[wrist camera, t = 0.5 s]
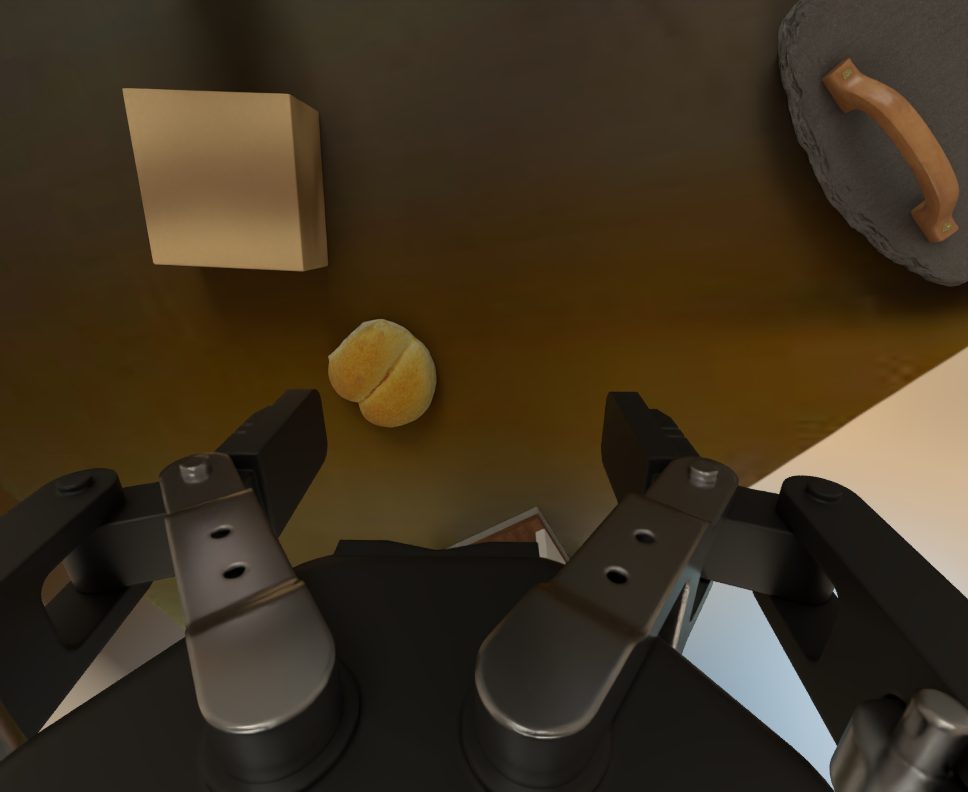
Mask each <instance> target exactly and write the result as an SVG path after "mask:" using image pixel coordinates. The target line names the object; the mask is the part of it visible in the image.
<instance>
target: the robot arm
mask: <svg viewBox="0 0 968 792" xmlns="http://www.w3.org/2000/svg"><path fill="white" fill-rule="evenodd" d="M326 454H327V436H326V429H325V423H324V416H323V409H322V403H321V397H320V394H319V392H318V391H317V390H316V389H288V390H287V391H286V392H285V393H284V394H283V395H282V396H281V397H280V398H279V399H278V400H277V401H276V402H275V403H274V404H273V405H272V406H268V407H266V408H264V409H262V410H260V411H258V412H256V413H254V414H253V415H252V416H251V417H249V418H248V419H247V420H246V421H245V422H244V423H243V426H240V427H239V428H238V429H237V430H236V431H235V434H232V435H231V436H230V437H229V438H228V439H227V440H226V441H225V442H224V443H223V444H222V445H221V446H220V447H219V448H218V449H216V450H215V451H214V452H208V453H200V454H195V455H191V456H188V457H185V458H182V459H180V460H177V461H175V462H173V463H172V464H170V465H168V466H167V467H166V468H165V469H164V470H162V472H161V473H160V475H159V482H155V483H149V484H143V485H137V486H131V487H125V488H122V486H121V483H120V480H119V477H118V475H117V473H116V472H115V471H114V470H111V469H105V468H97V469H88V470H83V471H78V472H74V473H71V474H68V475H65V476H63V477H60V478H58V479H55V480H53V481H51V482H49V483H48V484H46V485H44V486H43V487H41V488H40V489H39V490H37V491H36V492H34V493H33V494H32V495H30V496H29V497H28V498H26V499H25V500H24V501H22V502H21V503H20V504H18V505H17V506H15V507H14V508H13V509H11V510H10V511H8V512H7V513H6V514H4V515H3V516H2V517H0V792H834V790H835V792H968V599H967V598H966V597H965V596H964V595H963V594H962V593H961V592H960V591H959V590H958V589H957V588H956V587H954V586H953V585H952V584H951V583H950V582H949V581H948V580H947V579H946V578H945V577H944V576H943V575H942V574H941V573H940V572H939V571H938V570H936V569H935V568H934V567H933V566H932V565H931V564H930V563H929V562H928V561H927V560H926V559H925V558H924V557H923V556H922V555H921V554H920V553H918V552H917V551H916V550H915V549H914V548H913V547H912V546H911V545H910V544H909V543H908V542H907V541H906V540H905V539H904V538H902V536H900V535H899V534H898V533H897V532H896V531H895V530H894V529H893V528H892V527H891V526H890V525H889V524H888V523H886V521H885V520H883V519H882V518H881V517H880V516H879V515H878V514H877V513H876V512H875V511H874V510H873V509H872V508H871V507H870V506H869V505H867V504H866V503H865V502H864V501H863V500H862V499H861V498H860V497H859V496H858V495H857V494H855V493H854V492H853V491H851V490H850V489H848V488H846V487H844V486H842V485H840V484H838V483H835V482H832V481H830V480H826V479H823V478H819V477H813V476H792V477H789V478H787V479H785V480H784V481H783V484H782V487H781V490H780V494H776V493H770V492H765V491H759V490H754V489H750V488H745V487H742V486H738V482H739V481H738V477H737V475H736V474H735V472H733V471H732V470H731V469H730V468H729V467H727V466H725V465H724V464H722V463H719V462H717V461H714V460H711V459H708V458H703V457H700V456H699V454H698V453H697V452H696V450H695V449H694V448H693V446H692V445H691V444H690V442H689V441H688V440H687V438H684V435H683V433H682V432H681V431H680V430H678V427H677V425H676V424H675V423H674V421H673V420H672V419H671V418H670V417H669V416H667V415H666V414H664V413H662V412H661V411H659V410H657V409H649V408H648V407H647V405H646V404H645V402H644V401H643V399H642V398H641V397H640V395H639V394H638V392H609V393H608V395H607V399H606V407H605V416H604V425H603V434H602V443H601V454H602V462H603V465H604V468H605V470H606V473H607V476H608V478H609V481H610V483H611V486H612V488H613V491H614V494H615V496H616V499H617V501H618V505H617V506H616V507H615V508H614V509H613V510H612V511H611V513H610V514H609V515H608V516H607V517H606V518H605V519H604V521H603V522H602V523H601V524H600V525H599V526H598V527H597V529H596V530H595V531H594V532H593V533H592V534H591V536H590V537H589V538H588V539H587V540H586V541H585V542H584V544H583V545H582V546H581V547H580V548H579V549H578V550H577V552H576V553H575V554H574V555H573V556H572V557H571V558H570V560H569V561H568V562H567V563H566V564H563V563H560V562H557V561H554V560H551V559H548V558H543V557H540V555H539V547H538V542H483V543H478V544H472V545H466V546H460V547H454V548H448V549H442V550H433V549H428V548H423V547H418V546H413V545H408V544H403V543H398V542H393V541H389V540H340V541H339V543H338V545H337V548H336V550H335V552H334V555H329V556H325V557H321V558H317V559H314V560H311V561H308V562H305V563H303V564H301V565H298V566H296V567H294V568H292V566H291V564H290V562H289V560H288V558H287V556H286V554H285V552H284V550H283V548H282V546H281V544H280V542H279V540H278V538H279V536H280V534H281V533H282V531H283V529H284V528H285V526H286V524H287V523H288V521H289V519H290V518H291V516H292V514H293V513H294V511H295V509H296V508H297V506H298V504H299V503H300V501H301V499H302V498H303V496H304V494H305V493H306V491H307V489H308V488H309V486H310V484H311V483H312V481H313V479H314V478H315V476H316V474H317V473H318V471H319V469H320V468H321V466H322V464H323V463H324V461H325V458H326ZM61 561H62V562H63V564H64V566H65V568H66V570H67V573H68V574H69V577H70V579H71V581H70V582H69V583H68V584H67V585H66V586H65V587H64V588H63V589H62V590H61V591H60V592H59V593H58V594H57V595H56V596H55V597H54V598H53V599H52V600H51V601H50V602H49V603H48V604H47V605H46V606H45V607H44V605H43V603H42V600H41V589H42V586H43V583H44V581H45V579H46V577H47V576H48V574H49V573H50V572H51V571H52V570H53V569H54V568H55V567H56V566H57V565H58V564H59V563H60V562H61ZM174 576H176V581H177V586H178V591H179V596H180V601H181V606H182V611H183V616H184V621H185V626H186V631H185V637H184V638H183V639H181V640H180V641H178V642H177V643H175V644H174V645H172V646H170V647H169V648H168V649H166V650H164V651H163V652H161V653H160V654H158V655H157V656H155V657H154V658H152V659H151V660H149V661H148V662H146V663H145V664H143V665H141V666H140V667H138V668H137V669H135V670H134V671H132V672H131V673H129V674H128V675H126V676H125V677H123V678H122V679H120V680H118V681H117V682H116V683H114V684H112V685H111V686H109V687H108V688H106V689H105V690H103V691H102V692H100V693H99V694H97V695H96V696H94V697H93V698H91V699H89V700H88V701H87V702H85V703H83V704H82V705H80V706H79V707H77V708H76V709H74V710H73V711H71V712H70V713H68V714H67V715H65V716H63V717H62V718H61V719H59V720H58V721H56V722H55V723H53V724H51V725H50V726H48V727H47V728H45V729H44V730H42V731H41V732H39V731H40V730H41V728H42V727H43V726H44V724H45V723H46V722H47V721H48V719H49V718H50V717H51V715H52V714H53V713H54V711H55V710H56V709H57V708H58V706H59V705H60V704H61V702H62V701H63V700H64V698H65V697H66V696H67V695H68V693H69V692H70V691H71V689H72V688H73V686H74V685H75V684H76V683H77V681H78V680H79V679H80V678H81V676H82V675H83V674H84V672H85V671H86V670H87V668H88V667H89V666H90V665H91V663H92V662H93V661H94V659H95V658H96V656H97V655H98V654H99V653H100V651H101V650H102V649H103V648H104V646H105V645H106V643H107V642H108V641H109V640H110V638H111V637H112V636H113V635H114V633H115V632H116V630H117V629H118V628H119V627H120V625H121V624H122V623H123V621H124V620H125V619H126V618H127V616H128V615H129V614H130V612H131V611H132V610H133V608H134V607H135V606H136V604H137V603H138V602H139V600H140V599H141V598H142V597H143V595H144V594H145V593H146V591H147V590H148V589H149V587H150V586H151V584H152V582H153V581H155V580H160V579H164V578H169V577H174ZM713 581H715V582H720V583H724V584H728V585H732V586H736V587H740V588H744V589H748V590H752V591H753V594H754V597H755V598H756V600H757V601H758V604H759V606H760V607H761V609H762V611H763V613H764V615H765V616H766V618H767V620H768V622H769V624H770V625H771V627H772V629H773V631H774V633H775V634H776V636H777V638H778V640H779V642H780V644H781V645H782V647H783V649H784V651H785V653H786V654H787V656H788V658H789V660H790V662H791V663H792V665H793V667H794V669H795V671H796V672H797V674H798V676H799V678H800V680H801V681H802V683H803V685H804V687H805V689H806V690H807V692H808V694H809V696H810V698H811V700H812V701H813V703H814V705H815V707H816V709H817V710H818V712H819V714H820V716H821V718H822V719H823V721H824V723H825V725H826V727H827V728H828V730H829V732H830V734H831V736H832V737H833V739H834V741H835V743H836V745H837V748H836V750H835V752H834V754H833V756H832V758H831V762H830V777H831V781H832V785H833V787H834V790H833V789H832V788H831V787H830V785H829V784H828V783H827V781H826V780H825V779H824V778H823V777H822V776H821V775H820V774H819V773H818V771H817V770H816V769H815V768H814V767H813V766H812V765H811V764H810V763H809V762H808V761H807V760H806V759H805V758H804V757H803V756H802V755H801V754H800V753H798V752H797V751H796V750H795V749H794V748H793V747H792V746H791V745H789V744H788V743H787V742H785V740H783V739H782V738H781V737H780V736H779V735H777V734H776V733H775V732H774V731H772V730H771V729H770V728H769V727H768V726H766V725H765V724H764V723H763V722H762V721H761V720H759V719H758V718H757V717H756V716H755V715H753V714H752V713H751V712H750V711H749V710H747V709H746V708H745V707H744V706H743V705H741V704H740V703H739V702H738V701H737V700H735V699H734V698H733V697H732V696H730V695H729V694H728V693H727V692H726V691H725V690H723V689H722V688H721V687H720V686H719V685H717V684H716V683H715V682H714V681H713V680H711V679H710V678H709V677H708V676H707V675H705V674H704V673H703V672H702V671H701V670H699V669H698V668H697V667H696V666H695V665H693V664H692V663H691V662H690V661H689V660H687V659H686V658H685V657H684V656H682V652H683V649H684V646H685V644H686V641H687V639H688V637H689V634H690V632H691V630H692V628H693V626H694V624H695V622H696V619H697V617H698V615H699V613H700V611H701V609H702V607H703V604H704V602H705V600H706V598H707V596H708V594H709V591H710V589H711V587H712V584H713ZM834 587H835V589H836V592H837V595H838V598H837V596H836V595H835V594H834V592H833V590H834ZM38 732H39V733H38Z"/></svg>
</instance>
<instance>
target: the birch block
mask: <svg viewBox="0 0 968 792" xmlns="http://www.w3.org/2000/svg"><path fill="white" fill-rule="evenodd" d="M123 95H124V101H125V106H126V112H127V117H128V123H129V129H130V134H131V140H132V145H133V151H134V157H135V162H136V168H137V173H138V179H139V185H140V190H141V196H142V202H143V207H144V213H145V218H146V224H147V230H148V235H149V241H150V246H151V252H152V258H153V263H154V264H161V265H182V266H202V267H223V268H243V269H264V270H284V271H307V270H312V269H317V268H322V267H326V266H328V254H327V238H326V222H325V206H324V190H323V174H322V159H321V143H320V127H319V112H318V111H316V110H315V109H313V108H311V107H310V106H308V105H306V104H305V103H303V102H301V101H300V100H298V99H296V98H295V97H293V96H291V95H290V94H277V93H248V92H220V91H191V90H163V89H134V88H123Z"/></svg>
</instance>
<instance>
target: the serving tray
mask: <svg viewBox="0 0 968 792" xmlns="http://www.w3.org/2000/svg"><path fill="white" fill-rule="evenodd" d="M777 62H778V64H779V67H780V73H781V80H782V86H783V89H784V91H785V93H786V95H787V100H788V111H789V114H790V118H791V121H792V125H793V128H794V132H795V135H796V138H797V141H798V143H799V144H800V145H801V147H802V148H803V149H804V151H805V153H806V156H807V158H808V161H809V163H810V165H811V168H812V170H813V172H814V174H815V177H816V179H817V181H818V183H819V185H820V187H821V189H822V191H823V192H824V194H825V196H826V198H827V199H828V200H829V202H830V203H831V205H832V206H833V207H834V208H835V209H836V211H837V212H838V213H839V214H840V215H841V216H842V217H843V218H844V219H845V220H846V222H847V223H848V225H849V226H850V227H851V228H853V229H854V230H856V231H857V232H859V233H860V234H861V235H863V236H864V237H865V238H866V239H867V240H868V241H869V242H870V243H871V244H872V246H873V247H874V248H875V249H876V250H877V251H878V252H879V253H880V254H882V255H883V256H885V257H886V258H888V259H889V260H891V261H892V262H894V263H896V264H900V265H903V266H904V267H905V268H906V269H907V270H908V271H911V272H914V273H917V274H919V275H921V276H922V277H923V278H924V279H926V280H928V281H931V282H934V283H938V284H942V285H946V286H950V287H951V286H958V285H961V284H963V283H965V282H967V281H968V0H799V1H798V2H797V3H796V4H795V5H794V6H793V7H792V9H791V10H790V11H789V12H788V14H787V15H786V16H785V17H784V19H783V20H782V22H781V25H780V27H779V30H778V54H777Z"/></svg>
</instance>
